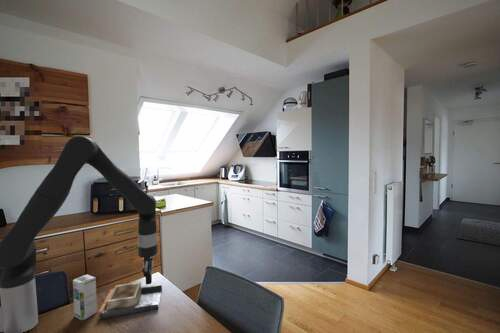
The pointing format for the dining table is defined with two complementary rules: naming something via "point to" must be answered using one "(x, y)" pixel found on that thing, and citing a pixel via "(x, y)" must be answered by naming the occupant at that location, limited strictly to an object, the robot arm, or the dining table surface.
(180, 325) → the dining table surface
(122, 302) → the box
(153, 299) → the bay
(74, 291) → the syrup box
